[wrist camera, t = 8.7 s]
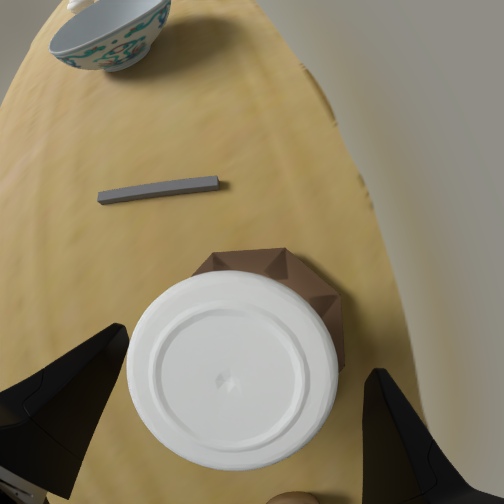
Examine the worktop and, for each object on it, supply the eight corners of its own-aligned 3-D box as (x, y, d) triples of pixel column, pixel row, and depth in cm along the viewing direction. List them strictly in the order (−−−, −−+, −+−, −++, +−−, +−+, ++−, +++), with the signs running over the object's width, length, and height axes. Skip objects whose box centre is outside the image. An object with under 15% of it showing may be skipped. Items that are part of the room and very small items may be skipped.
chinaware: (60, 111, 24) (28, 72, 17) (94, 43, 28) (76, 8, 20) (176, 77, 24) (157, 20, 17) (188, 16, 28) (178, -26, 20)
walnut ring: (339, 406, 17) (345, 412, 15) (180, 414, 17) (174, 421, 15) (329, 249, 19) (334, 244, 18) (171, 260, 19) (164, 255, 18)
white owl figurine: (101, 1, 34) (91, -21, 27) (96, 10, 32) (85, -13, 25) (76, 13, 33) (65, -7, 27) (70, 23, 32) (58, 1, 25)
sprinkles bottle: (269, 293, 19) (287, 229, 6) (297, 355, 18) (373, 427, 5) (206, 320, 18) (91, 314, 5) (233, 382, 17) (176, 495, 4)
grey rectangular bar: (218, 180, 21) (217, 175, 20) (218, 190, 21) (217, 185, 20) (103, 196, 21) (98, 192, 20) (101, 204, 21) (97, 201, 20)
